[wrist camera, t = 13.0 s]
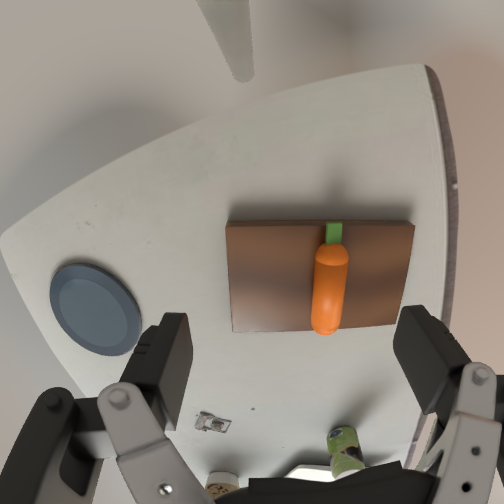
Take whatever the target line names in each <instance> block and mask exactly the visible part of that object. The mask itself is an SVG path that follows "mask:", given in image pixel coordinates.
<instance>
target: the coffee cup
mask: <svg viewBox="0 0 504 504" xmlns="http://www.w3.org/2000/svg"><path fill="white" fill-rule="evenodd" d="M236 489H239V481H238V477H237V476H236V475H235V474H232V473H228V472H213V473H211V474H210V475H209V477H208V479H207V483H206V486H205V490H206V492H207V493H208V494H209V496H210V497H211V498H212V499H213V500H214V499H215V498H217V497H219V496H221V495H223V494H225V493H228V492H230V491H233V490H236Z"/></svg>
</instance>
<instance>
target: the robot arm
mask: <svg viewBox="0 0 504 504" xmlns="http://www.w3.org/2000/svg"><path fill="white" fill-rule="evenodd" d="M393 349H394V353H395V355H396V357H397V359H398V361H399V363H400V365H401V367H402V369H403V371H404V373H405V375H406V377H407V380H408V382H409V384H410V386H411V388H412V390H413V392H414V394H415V396H416V399H417V401H418V403H419V405H420V407H421V409H422V412H423V414H424V415H427V414H430V413H434V412H436V414H437V417H436V419H435V420H434V423H433V426H432V429H431V432H430V435H429V438H428V441H427V444H426V447H425V449H424V452H423V455H422V457H421V460H420V462H419V464H418V465H417V467H416V468H415V470H409V469H402V465H401V462H400V460H399V461H395V462H391V463H387V464H382V465H378V466H373V467H368V468H365V469H362V470H360V471H358V472H355V473H353V474H350V475H348V476H345V477H343V478H340V479H337V480H335V481H331V482H322V481H313V480H305V479H297V478H290V477H282V478H249V486H248V487H244V488H240V489H236V490H233V491H230V492H228V493H225V494H223V495H221V496H219V497H217V498H215V499H214V500H213V499H212V498H211V497H210V496H209V494H208V493H207V492H206V490H205V489H204V488H203V486H202V485H201V484H200V482H199V481H198V480H197V478H196V477H195V475H194V474H193V473H192V471H191V470H190V468H189V467H188V466H187V464H186V463H185V461H184V460H183V458H182V457H181V455H180V454H179V452H178V451H177V449H176V448H175V446H174V445H173V443H172V442H171V440H170V439H169V438H167V437H166V435H165V434H164V431H165V430H170V431H175V430H176V426H177V421H178V417H179V413H180V409H181V405H182V401H183V397H184V393H185V389H186V385H187V381H188V377H189V373H190V369H191V365H192V360H193V345H192V340H191V334H190V328H189V323H188V317H187V314H186V313H169V312H166V313H165V314H164V316H163V318H162V320H161V322H160V324H159V326H155V325H152V326H150V327H149V328H148V329H147V330H146V331H145V332H144V333H142V335H141V337H140V339H139V341H138V343H137V345H136V347H135V349H134V351H133V352H134V353H132V355H131V357H130V359H129V361H128V363H127V365H126V368H125V370H124V372H123V374H122V376H121V378H120V380H119V382H118V383H114V384H111V385H109V386H107V387H106V388H104V389H103V390H102V391H101V392H100V394H99V396H98V397H94V398H81V399H74V397H73V396H72V394H71V392H70V391H68V390H67V389H65V388H62V387H55V388H50V389H48V390H46V391H45V392H43V393H42V394H41V395H40V396H39V397H38V399H37V401H36V403H35V404H34V406H33V408H32V410H31V412H30V414H29V416H28V417H27V419H26V421H25V423H24V425H23V427H22V429H21V431H20V433H19V435H18V437H17V439H16V441H15V444H14V446H13V448H12V450H11V452H10V454H9V456H8V459H7V461H6V463H5V465H4V468H3V470H2V472H1V475H0V504H92V501H93V497H94V494H95V489H96V486H97V482H98V478H99V475H100V471H101V467H102V464H103V461H104V458H116V462H117V465H118V467H119V469H120V471H121V474H122V476H123V478H124V480H125V482H126V484H127V486H128V488H129V490H130V492H131V494H132V496H133V498H134V500H135V502H136V503H137V504H487V503H488V499H489V495H490V492H491V488H492V483H493V479H494V474H495V469H496V467H497V470H498V472H499V475H500V478H501V481H502V483H503V486H504V375H496V374H495V372H494V371H493V370H492V369H491V368H490V367H489V366H487V365H486V364H483V363H480V362H472V361H471V360H470V358H469V357H468V355H467V354H466V353H465V351H464V350H463V348H462V347H461V346H460V344H459V343H458V342H457V340H455V338H454V337H453V335H452V334H451V333H449V330H448V328H447V327H446V326H445V325H444V323H443V322H441V321H440V320H438V319H437V318H435V317H434V316H431V315H430V314H429V312H428V311H427V310H426V308H425V307H424V306H423V305H412V306H404V307H403V308H402V310H401V313H400V317H399V321H398V325H397V328H396V332H395V335H394V339H393Z"/></svg>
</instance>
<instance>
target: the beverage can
mask: <svg viewBox="0 0 504 504" xmlns="http://www.w3.org/2000/svg"><path fill="white" fill-rule="evenodd" d="M327 444H328V451H329V459H330V466H331V473H332V477H333V478H334V479H336V480H337V479H340V478H343V477H345V476H348V475H350V474H353V473H355V472H358V471H360V470H362V469H365V464H364V460H363V456H362V452H361V448H360V444H359V440H358V436H357V432H356V430H355V429H354V428H352V427H339V428H337V429H335V430H333V431H331V432H330V433H329V434H328V436H327Z"/></svg>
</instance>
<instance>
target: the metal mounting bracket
mask: <svg viewBox="0 0 504 504" xmlns="http://www.w3.org/2000/svg"><path fill="white" fill-rule="evenodd" d="M197 416H198V415H197ZM212 418H213V419H217V420H222V421H226V422H230V423H229V425H230V424H231V421H228V420H223V419H219V418H215V416H212V415H210V414H206V413H202V412H201V414H200V416H199V419H198V422H197V424H196V427H195V428H196V429H197V430H202V431H206V430H207V429H209V430H213V431H218V432H223V433H226V431H227V429H228V427H229V425H228V427H227V429H226V431H220V430H221V429H222V427H223V425H224V423H222V422H217V421H212V424H211V425H210V426H211V428H213V429H211V428H207V427H203V426H204V424H205V422H206V419H212Z"/></svg>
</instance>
